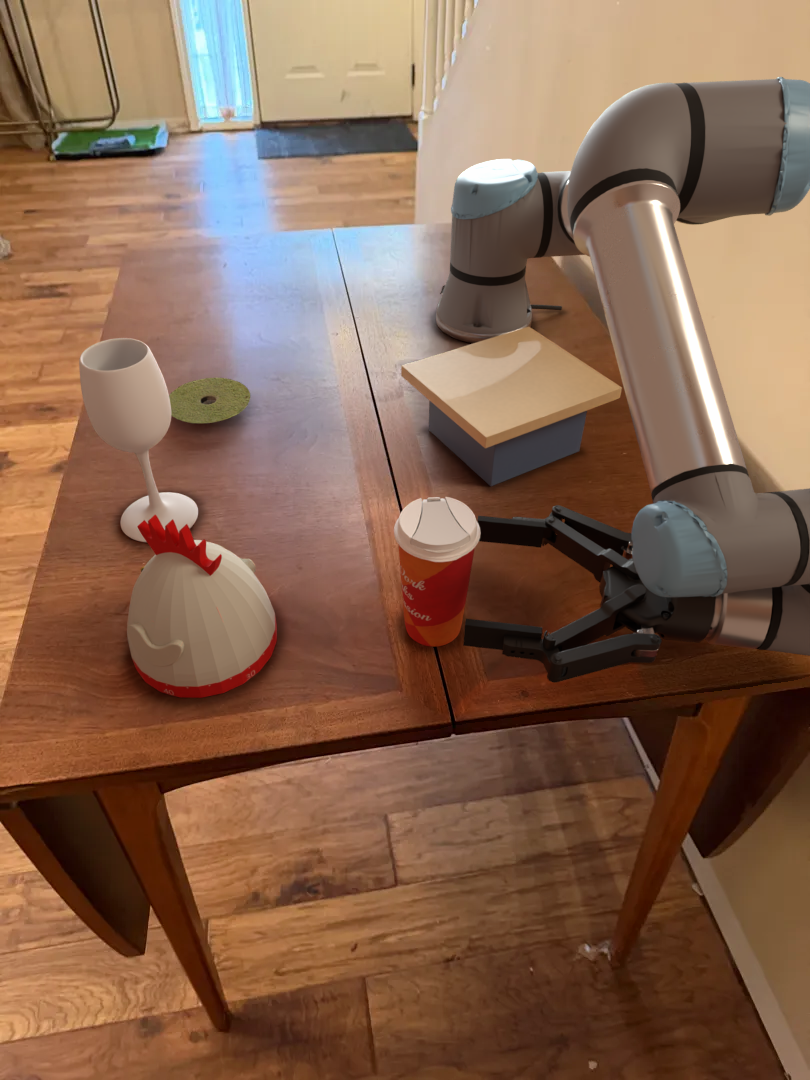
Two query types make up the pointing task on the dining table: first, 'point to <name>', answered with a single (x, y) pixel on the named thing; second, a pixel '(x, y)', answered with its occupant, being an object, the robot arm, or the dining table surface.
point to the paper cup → (435, 566)
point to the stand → (509, 402)
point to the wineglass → (132, 421)
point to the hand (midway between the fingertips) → (470, 576)
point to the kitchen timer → (197, 616)
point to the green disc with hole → (208, 400)
